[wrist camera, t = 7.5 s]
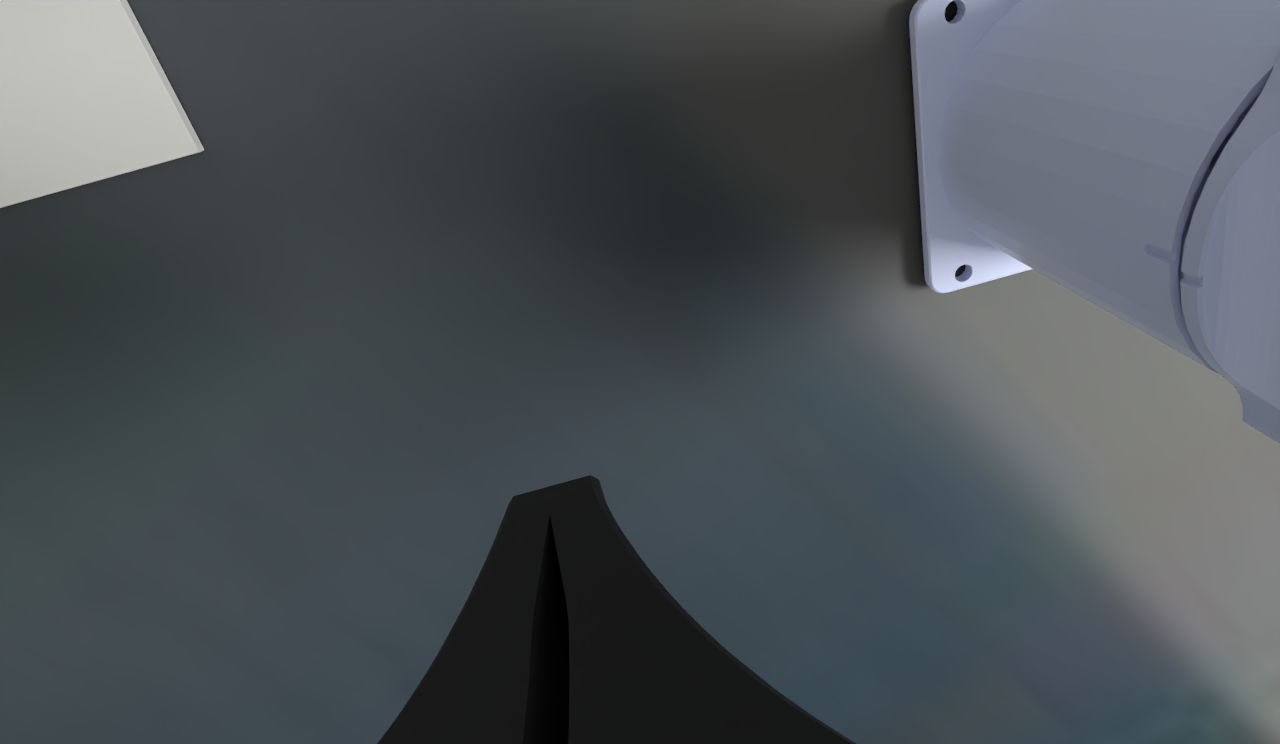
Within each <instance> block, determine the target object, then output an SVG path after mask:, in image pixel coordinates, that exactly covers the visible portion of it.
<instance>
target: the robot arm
mask: <svg viewBox="0 0 1280 744" xmlns="http://www.w3.org/2000/svg"><path fill="white" fill-rule="evenodd" d="M952 1H954V2H955V3H956V5H957V13H956V16H955V17H954V19H953V20H952V21H950V22H948V21H946V19H945V15H944V14H945V9H946V7H947V5H948V4H949V3H950V2H952ZM909 28H910V45H911V61H912V77H913V94H914V110H915V126H916V143H917V159H918V175H919V192H920V208H921V225H922V241H923V257H924V274H925V281H926V284H927V285H928V286H929V287H930V288H931V289H932V290H934V291H935V292H938V293H948V292H952V291H955V290H959V289H962V288H966V287H970V286H973V285H977V284H980V283H984V282H988V281H991V280H995V279H998V278H1002V277H1006V276H1009V275H1013V274H1016V273H1020V272H1024V271H1027V270H1031V269H1034V270H1036V271H1038V272H1039V273H1041V274H1043V275H1045V276H1046V277H1048V278H1050V279H1052V280H1054V281H1055V282H1057V283H1059V284H1061V285H1062V286H1064V287H1066V288H1068V289H1069V290H1071V291H1073V292H1075V293H1077V294H1078V295H1080V296H1082V297H1084V298H1085V299H1087V300H1089V301H1091V302H1092V303H1094V304H1096V305H1098V306H1100V307H1101V308H1103V309H1105V310H1107V311H1108V312H1110V313H1112V314H1114V315H1115V316H1117V317H1119V318H1121V319H1123V320H1124V321H1126V322H1128V323H1130V324H1131V325H1133V326H1135V327H1137V328H1138V329H1140V330H1142V331H1144V332H1146V333H1147V334H1149V335H1151V336H1153V337H1154V338H1156V339H1158V340H1160V341H1161V342H1163V343H1165V344H1167V345H1169V346H1170V347H1172V348H1174V349H1176V350H1177V351H1179V352H1181V353H1183V354H1184V355H1186V356H1188V357H1190V358H1192V359H1193V360H1195V361H1197V362H1199V363H1200V364H1202V365H1204V366H1206V367H1207V368H1209V369H1211V370H1213V371H1215V372H1217V373H1219V374H1221V375H1222V376H1223V377H1225V378H1226V379H1227V380H1228V381H1229V382H1230V383H1232V384H1233V385H1234V386H1235V388H1236V389H1237V391H1238V393H1239V395H1240V398H1241V401H1242V405H1243V421H1244V422H1246V423H1247V424H1249V425H1250V426H1252V427H1254V428H1255V429H1257V430H1259V431H1260V432H1262V433H1263V434H1265V435H1267V436H1268V437H1270V438H1272V439H1273V440H1275V441H1277V442H1278V443H1280V0H918V1H917V2H916V4H915V5H914V6H913V8H912V10H911V13H910V19H909ZM962 265H966V267H965V271H964V272H963V273H962V275H960V276H958V277H955V273H956V270H957V269H958V268H959V267H960V266H962ZM378 744H856V743H854V742H853V741H851V740H849V739H848V738H846V737H845V736H843V735H841V734H840V733H838V732H837V731H835V730H833V729H832V728H830V727H829V726H827V725H826V724H824V723H823V722H821V721H820V720H818V719H817V718H815V717H813V716H812V715H810V714H809V713H808V712H806V711H805V710H803V709H802V708H801V707H799V706H798V705H796V704H795V703H794V702H792V701H791V700H789V699H788V698H786V697H785V696H784V695H782V694H781V693H779V692H778V691H777V690H775V689H774V688H773V687H772V686H770V685H769V684H768V683H767V682H765V681H764V680H763V679H762V678H760V677H759V676H758V675H757V674H755V673H754V672H753V671H752V670H750V669H749V668H748V667H747V666H745V665H744V664H743V663H742V662H740V661H739V660H738V659H737V658H736V657H734V656H733V655H732V654H731V653H729V652H728V651H727V650H726V649H725V648H724V647H723V646H722V645H720V644H719V643H718V642H717V641H716V640H715V639H714V638H713V637H712V636H711V635H710V634H709V633H707V632H706V631H705V630H704V629H703V628H702V627H701V626H700V625H699V624H698V623H697V622H696V621H695V620H694V619H693V618H692V617H691V616H690V615H689V614H688V613H687V612H686V611H685V610H684V609H683V608H682V607H681V606H680V604H679V603H678V602H677V601H676V600H675V599H674V598H673V597H672V596H671V595H670V593H669V592H668V591H667V590H666V589H665V588H664V586H663V585H662V584H661V583H660V582H659V581H658V579H657V578H656V577H655V576H654V575H653V573H652V572H651V571H650V570H649V568H648V567H647V566H646V564H645V563H644V562H643V561H642V559H641V558H640V557H639V555H638V554H637V552H636V551H635V549H634V548H633V547H632V545H631V544H630V542H629V541H628V539H627V538H626V537H625V535H624V534H623V532H622V530H621V529H620V527H619V526H618V524H617V522H616V521H615V519H614V517H613V515H612V513H611V512H610V510H609V508H608V506H607V504H606V501H605V498H604V494H603V491H602V488H601V485H600V481H599V479H597V478H595V477H593V476H591V475H590V476H586V477H582V478H579V479H575V480H571V481H568V482H564V483H561V484H557V485H553V486H550V487H546V488H542V489H539V490H535V491H531V492H528V493H524V494H520V495H517V496H514V497H513V498H512V500H511V501H510V503H509V505H508V507H507V510H506V513H505V515H504V518H503V520H502V523H501V526H500V528H499V530H498V533H497V535H496V538H495V540H494V543H493V545H492V547H491V550H490V552H489V554H488V557H487V559H486V561H485V563H484V565H483V568H482V570H481V572H480V574H479V576H478V578H477V580H476V582H475V585H474V587H473V589H472V591H471V593H470V595H469V597H468V599H467V601H466V603H465V605H464V607H463V609H462V611H461V613H460V615H459V616H458V618H457V620H456V622H455V624H454V626H453V627H452V629H451V631H450V633H449V635H448V637H447V638H446V640H445V642H444V644H443V646H442V648H441V649H440V651H439V653H438V655H437V656H436V658H435V660H434V661H433V663H432V665H431V666H430V668H429V670H428V671H427V673H426V674H425V676H424V678H423V679H422V681H421V682H420V684H419V685H418V687H417V688H416V690H415V691H414V693H413V695H412V696H411V698H410V699H409V701H408V702H407V704H406V705H405V707H404V708H403V710H402V711H401V712H400V714H399V715H398V717H397V718H396V719H395V721H394V722H393V724H392V725H391V726H390V728H389V729H388V730H387V732H386V733H385V734H384V736H383V737H382V738H381V740H380V741H379V742H378Z"/></svg>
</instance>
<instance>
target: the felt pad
mask: <svg viewBox="0 0 1280 744" xmlns="http://www.w3.org/2000/svg"><path fill="white" fill-rule="evenodd" d="M203 150H204V148H203V146H202V144H201V142H200V140H199V138H198V136H197V134H196V132H195V131H194V129H193V127H192V125H191V123H190V121H189V119H188V117H187V115H186V113H185V111H184V109H183V108H182V106H181V104H180V102H179V100H178V98H177V96H176V94H175V92H174V90H173V88H172V86H171V84H170V83H169V81H168V79H167V77H166V75H165V73H164V71H163V69H162V67H161V65H160V63H159V61H158V60H157V58H156V56H155V54H154V52H153V50H152V48H151V46H150V44H149V42H148V40H147V38H146V36H145V35H144V33H143V31H142V29H141V27H140V25H139V23H138V21H137V19H136V17H135V15H134V13H133V12H132V10H131V8H130V6H129V4H128V2H127V0H0V208H2V207H5V206H9V205H13V204H16V203H20V202H23V201H27V200H30V199H34V198H38V197H41V196H45V195H48V194H52V193H56V192H59V191H63V190H66V189H70V188H73V187H77V186H81V185H84V184H88V183H91V182H95V181H98V180H102V179H106V178H109V177H113V176H116V175H120V174H123V173H127V172H131V171H134V170H138V169H141V168H145V167H149V166H152V165H156V164H159V163H163V162H166V161H170V160H174V159H177V158H181V157H184V156H188V155H191V154H195V153H199V152H201V151H203Z"/></svg>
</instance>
